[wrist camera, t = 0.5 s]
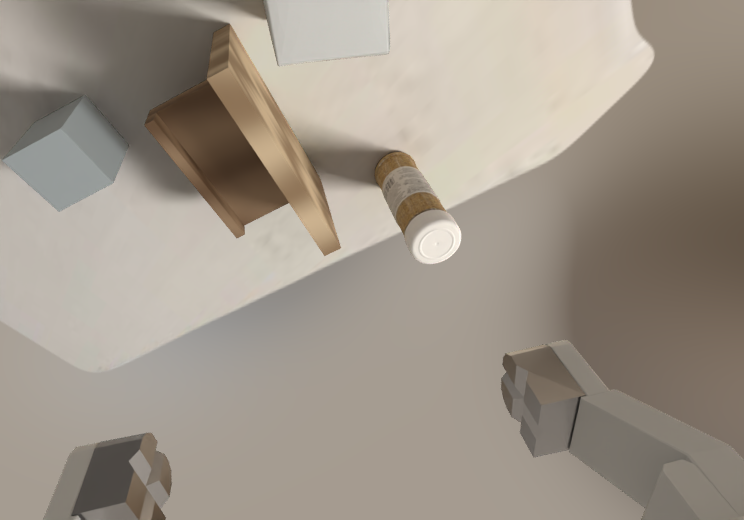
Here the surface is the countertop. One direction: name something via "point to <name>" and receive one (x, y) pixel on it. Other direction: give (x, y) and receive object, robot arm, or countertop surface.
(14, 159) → the cabinet box
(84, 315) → the countertop surface
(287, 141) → the wall board
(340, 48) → the supplement box
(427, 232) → the sprinkles bottle
